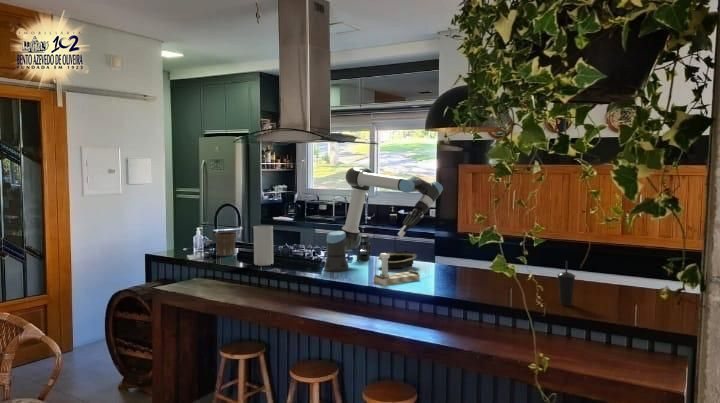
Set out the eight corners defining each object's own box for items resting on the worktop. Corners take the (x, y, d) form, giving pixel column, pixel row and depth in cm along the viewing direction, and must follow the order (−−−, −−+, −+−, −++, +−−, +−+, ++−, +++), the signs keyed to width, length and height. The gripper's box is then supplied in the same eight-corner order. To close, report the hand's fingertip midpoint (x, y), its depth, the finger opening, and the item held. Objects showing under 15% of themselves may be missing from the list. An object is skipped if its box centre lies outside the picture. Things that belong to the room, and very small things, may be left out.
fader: (384, 275, 281) (384, 252, 280) (389, 277, 276) (389, 254, 276) (379, 276, 279) (379, 253, 278) (384, 277, 275) (384, 254, 274)
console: (408, 276, 293) (408, 269, 292) (419, 280, 284) (419, 272, 284) (373, 281, 280) (373, 274, 280) (383, 285, 272) (383, 277, 271)
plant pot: (238, 256, 367) (237, 234, 366) (215, 257, 362) (214, 235, 361) (236, 252, 383) (236, 231, 382) (214, 254, 378) (213, 232, 377)
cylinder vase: (251, 265, 330) (250, 227, 328) (257, 262, 342) (257, 225, 341) (270, 266, 328) (269, 227, 327) (275, 262, 341) (275, 225, 339)
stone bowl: (417, 263, 333) (417, 249, 332) (416, 274, 309) (416, 259, 307) (380, 262, 336) (380, 248, 335) (376, 272, 312) (376, 258, 311)
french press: (363, 261, 342) (363, 227, 340) (352, 260, 348) (352, 226, 346) (374, 259, 351) (374, 226, 349) (364, 258, 357) (363, 225, 355)
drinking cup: (553, 302, 234) (554, 259, 233) (569, 302, 235) (570, 259, 233) (561, 307, 226) (562, 262, 225) (578, 306, 227) (579, 262, 226)
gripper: (434, 209, 285) (410, 241, 278) (420, 208, 296) (396, 238, 289) (427, 200, 282) (402, 232, 274) (413, 199, 293) (389, 230, 286)
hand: (399, 235), depth 282 cm, fingers closed
